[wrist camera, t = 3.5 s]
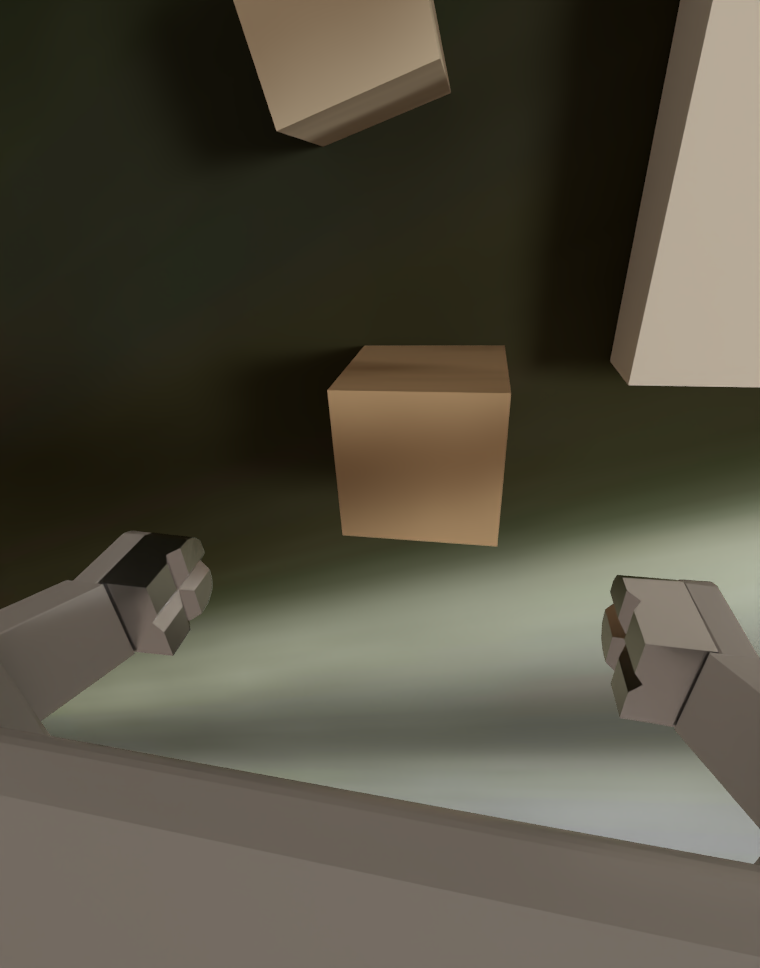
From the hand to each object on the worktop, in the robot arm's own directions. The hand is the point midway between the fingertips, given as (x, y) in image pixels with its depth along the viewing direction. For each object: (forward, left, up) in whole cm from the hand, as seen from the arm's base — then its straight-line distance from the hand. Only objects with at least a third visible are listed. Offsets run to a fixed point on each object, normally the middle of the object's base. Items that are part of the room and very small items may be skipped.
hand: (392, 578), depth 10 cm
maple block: (+10, +2, -10) cm, 15 cm away
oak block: (-1, 0, -10) cm, 10 cm away
